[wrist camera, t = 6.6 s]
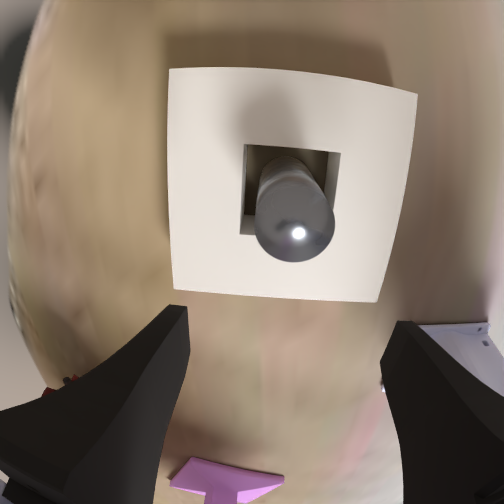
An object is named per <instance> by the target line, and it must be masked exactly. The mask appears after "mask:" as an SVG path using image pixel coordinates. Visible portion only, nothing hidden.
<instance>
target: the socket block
mask: <svg viewBox="0 0 504 504" xmlns="http://www.w3.org/2000/svg"><path fill="white" fill-rule="evenodd" d="M417 97H418V94H416V93H412V92H409V91H405V90H401V89H397V88H393V87H389V86H384V85H380V84H375V83H371V82H366V81H361V80H355V79H350V78H344V77H338V76H332V75H325V74H317V73H310V72H301V71H291V70H279V69H265V68H243V67H197V68H176V69H169V87H168V124H167V164H168V203H169V226H170V243H171V258H172V271H173V283H174V289H179V290H190V291H200V292H211V293H223V294H235V295H248V296H262V297H276V298H292V299H309V300H328V301H351V302H377V300H378V296H379V293H380V290H381V286H382V283H383V280H384V276H385V272H386V269H387V265H388V262H389V258H390V254H391V250H392V246H393V242H394V238H395V234H396V230H397V225H398V221H399V216H400V212H401V207H402V202H403V197H404V192H405V187H406V181H407V175H408V169H409V163H410V157H411V150H412V143H413V135H414V127H415V118H416V108H417ZM248 144H252V145H268V146H281V147H292V148H303V149H312V150H321V151H329V154H328V163H327V171H326V180H325V188H324V196H325V197H326V199H327V201H328V202H329V204H330V206H331V208H332V210H333V213H334V216H335V231H334V235H333V238H332V240H331V242H330V243H329V245H328V246H327V247H326V249H325V250H324V251H323V252H321V253H320V254H319V255H317V256H316V257H314V258H312V259H310V260H307V261H303V262H293V263H292V262H285V261H281V260H278V259H276V258H274V257H272V256H271V255H269V254H268V253H267V252H265V251H264V249H263V248H262V247H261V246H260V244H259V242H258V241H257V238H256V235H255V231H254V219H255V216H254V215H244V205H245V185H246V165H247V146H248Z"/></svg>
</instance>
